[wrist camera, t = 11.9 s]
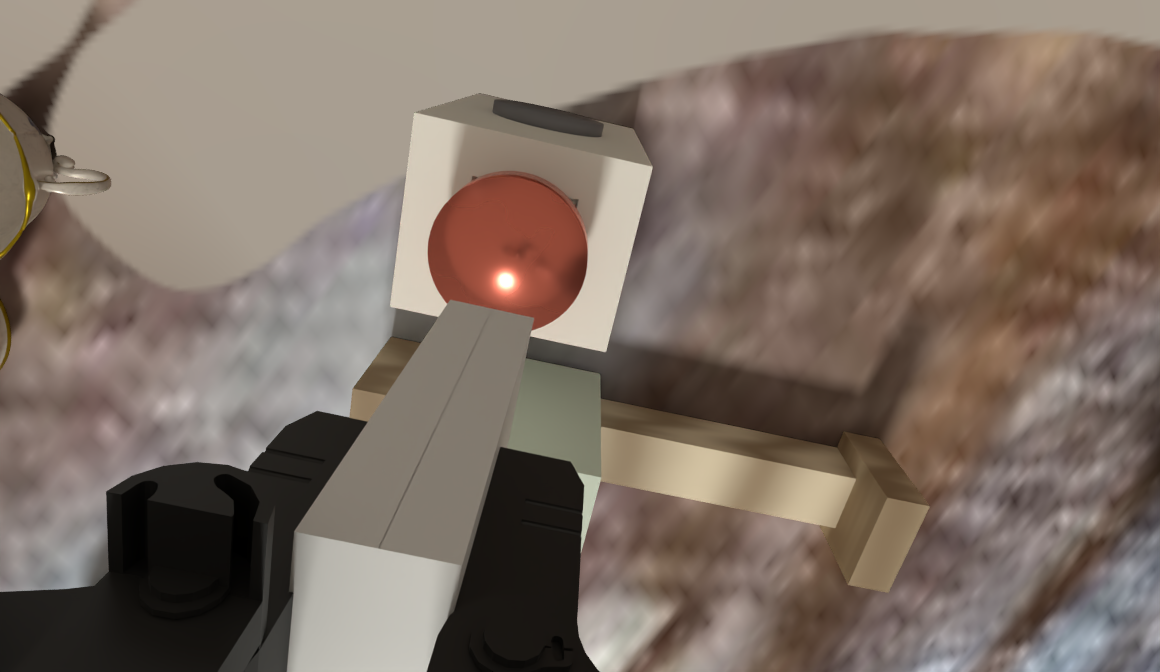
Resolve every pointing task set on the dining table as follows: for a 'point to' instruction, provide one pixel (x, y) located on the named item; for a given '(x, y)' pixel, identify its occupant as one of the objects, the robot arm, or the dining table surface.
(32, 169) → the chinaware
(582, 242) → the button
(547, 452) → the block
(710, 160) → the dining table surface
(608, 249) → the white tall block
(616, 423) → the rail
